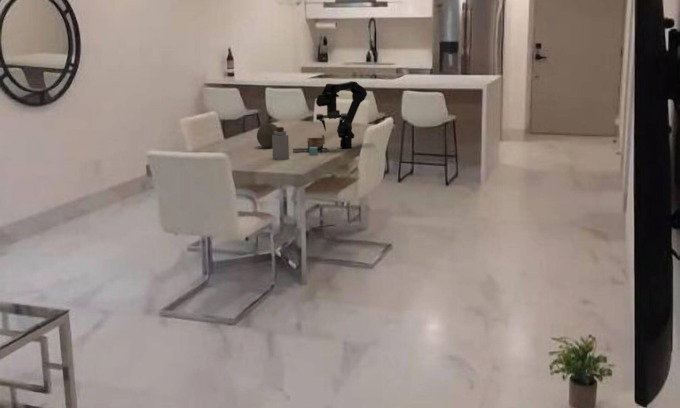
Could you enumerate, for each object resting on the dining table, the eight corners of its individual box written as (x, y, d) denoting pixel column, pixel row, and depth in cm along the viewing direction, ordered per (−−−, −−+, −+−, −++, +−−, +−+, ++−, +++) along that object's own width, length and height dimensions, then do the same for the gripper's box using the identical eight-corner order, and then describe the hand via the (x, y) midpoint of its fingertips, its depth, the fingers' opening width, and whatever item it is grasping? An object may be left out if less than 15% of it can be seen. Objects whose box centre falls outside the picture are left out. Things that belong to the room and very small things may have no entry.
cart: (323, 146, 461) (323, 134, 459) (324, 150, 449) (324, 137, 447) (307, 147, 460) (307, 134, 458) (308, 150, 448) (307, 137, 446)
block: (317, 154, 444) (317, 146, 443) (317, 155, 440) (317, 148, 439) (309, 154, 444) (309, 146, 443) (309, 155, 440) (309, 148, 439)
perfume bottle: (279, 160, 428) (277, 128, 423) (272, 158, 433) (271, 127, 429) (289, 158, 432) (288, 127, 427) (282, 156, 437) (281, 126, 432)
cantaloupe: (276, 149, 461) (275, 125, 457) (254, 149, 463) (253, 125, 460) (282, 145, 474) (282, 122, 470) (261, 145, 477) (260, 121, 473)
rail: (327, 149, 461) (327, 147, 460) (328, 152, 450) (328, 150, 450) (292, 149, 459) (292, 148, 459) (293, 153, 449) (292, 151, 448)
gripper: (316, 107, 440) (317, 133, 444) (348, 106, 441) (348, 132, 445) (315, 104, 451) (316, 130, 455) (346, 104, 452) (347, 129, 456)
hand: (332, 130), depth 452 cm, fingers open, 8 cm apart
